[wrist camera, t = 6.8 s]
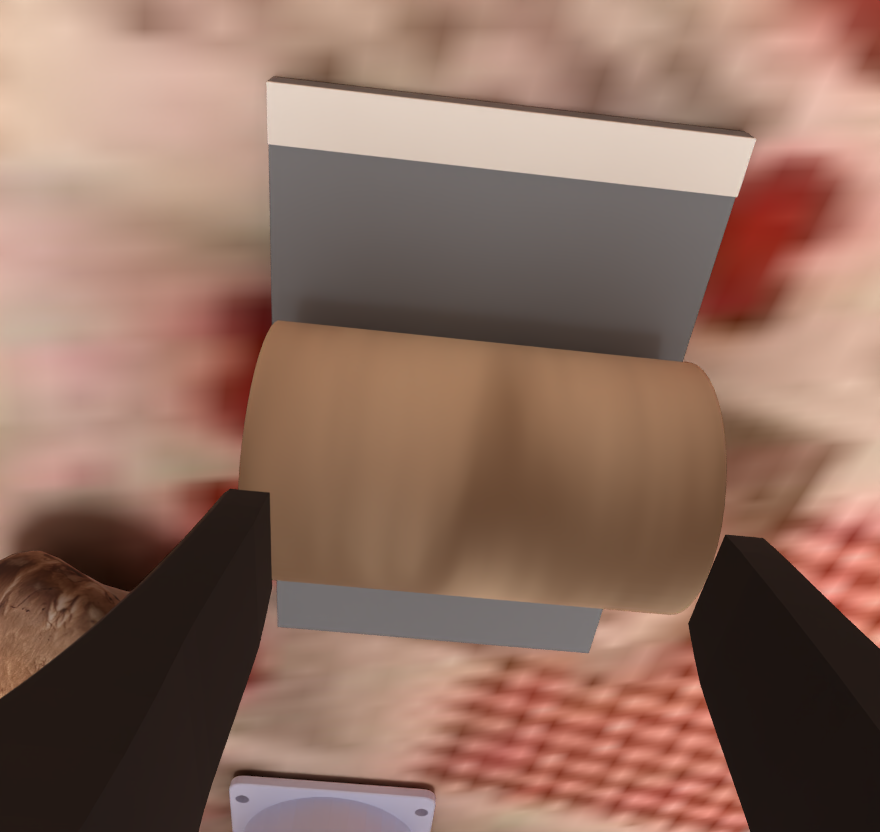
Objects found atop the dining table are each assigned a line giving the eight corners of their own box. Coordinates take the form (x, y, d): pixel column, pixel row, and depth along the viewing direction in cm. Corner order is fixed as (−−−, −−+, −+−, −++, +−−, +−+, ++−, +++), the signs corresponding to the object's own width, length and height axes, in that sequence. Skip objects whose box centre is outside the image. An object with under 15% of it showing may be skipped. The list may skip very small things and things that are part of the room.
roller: (618, 502, 20) (668, 670, 16) (293, 472, 20) (243, 635, 15) (674, 320, 17) (756, 459, 13) (292, 279, 17) (231, 408, 12)
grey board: (585, 638, 24) (589, 655, 24) (281, 612, 24) (276, 629, 23) (744, 131, 16) (755, 139, 15) (273, 76, 15) (266, 82, 15)
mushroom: (292, 623, 19) (88, 836, 16) (276, 696, 26) (128, 859, 22) (86, 438, 21) (-141, 595, 17) (119, 550, 27) (-42, 681, 24)
